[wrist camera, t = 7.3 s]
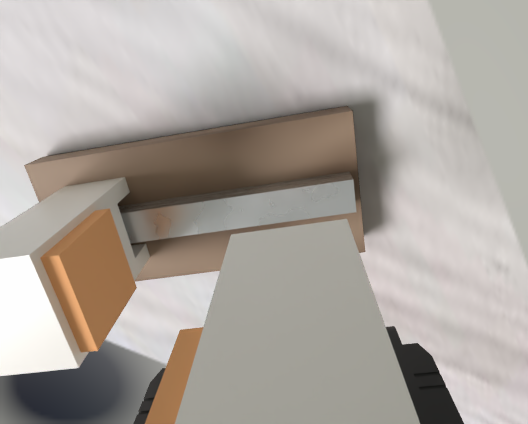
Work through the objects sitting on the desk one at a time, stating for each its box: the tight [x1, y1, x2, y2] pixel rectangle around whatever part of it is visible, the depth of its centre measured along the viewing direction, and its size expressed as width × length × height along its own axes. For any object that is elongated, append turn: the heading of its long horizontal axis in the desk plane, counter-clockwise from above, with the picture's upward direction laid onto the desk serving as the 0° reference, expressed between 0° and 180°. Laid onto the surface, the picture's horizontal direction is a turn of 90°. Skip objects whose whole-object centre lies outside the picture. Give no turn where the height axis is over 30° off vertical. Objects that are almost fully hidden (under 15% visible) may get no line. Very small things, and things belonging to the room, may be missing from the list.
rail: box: [0, 106, 365, 376], centre depth 22 cm, size 9×20×12 cm, turn 100°
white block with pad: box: [145, 219, 420, 424], centre depth 10 cm, size 6×5×10 cm
